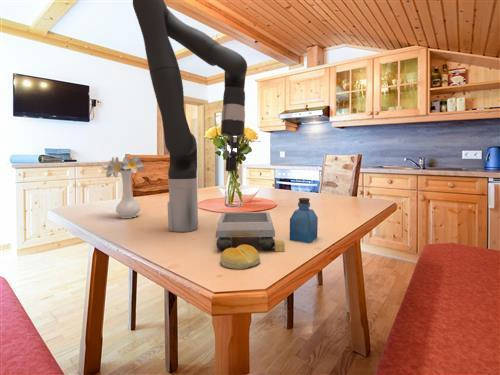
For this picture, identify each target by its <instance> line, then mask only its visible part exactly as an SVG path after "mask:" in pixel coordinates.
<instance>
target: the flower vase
mask: <svg viewBox="0 0 500 375" xmlns="http://www.w3.org/2000/svg"><path fill="white" fill-rule="evenodd" d="M119 159H120V158H119V157H118V156H116V157H114V156H113V157H111V160H108V161H107V164H106V165H105V164H103V165H101V168H102V169H103V170H104V171H106V172H105V177H106V178H110V177H112V175H113V177H114V178H118V175H119V173H120V174H121V179H122V197H121V200H120V201H119V203H118V204H117V205H116V208H115V212H116V213H117V215H119V216H120V218H121V219H123V218H129V219H133V218H132V217H135V218H137V217H136V216H138V215H137V214H139V213H140V211H141V205H140V204H139V203H138V202H137V201H136V200H135V197H134V196H133V192H132V173H134V174H136V173H137V172H138V171H140V172H141V173H142V174H143V173H144V172H143V170H146V168H147V167H146V166H145V165H144V164H143V163H142V158H141V157H138V156H137V155H133V157H132V158H131V159H130V158H129V157H127V156H123V159H122V161H120V160H119Z"/></svg>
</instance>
